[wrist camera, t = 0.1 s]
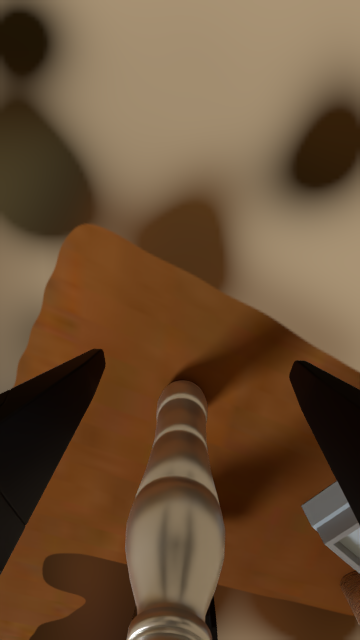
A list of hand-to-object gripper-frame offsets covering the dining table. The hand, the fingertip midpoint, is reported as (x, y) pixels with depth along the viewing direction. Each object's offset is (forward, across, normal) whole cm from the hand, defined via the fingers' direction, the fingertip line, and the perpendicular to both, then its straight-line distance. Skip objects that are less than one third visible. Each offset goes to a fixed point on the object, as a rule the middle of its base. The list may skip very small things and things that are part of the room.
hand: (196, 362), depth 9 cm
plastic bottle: (+12, +1, +15) cm, 20 cm away
